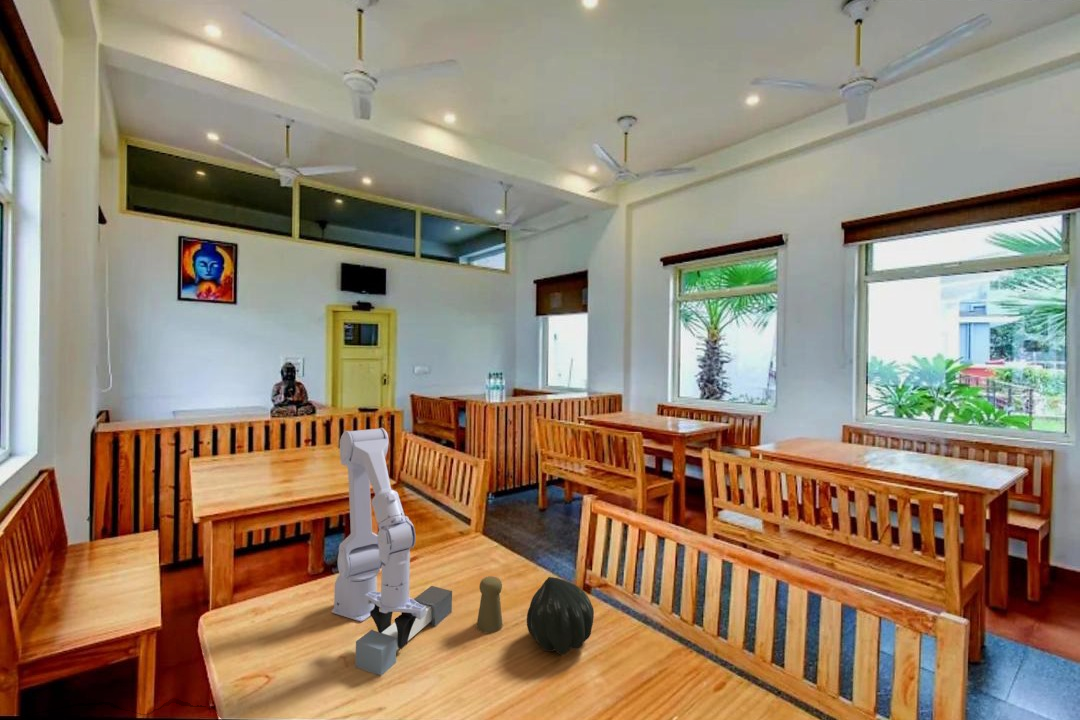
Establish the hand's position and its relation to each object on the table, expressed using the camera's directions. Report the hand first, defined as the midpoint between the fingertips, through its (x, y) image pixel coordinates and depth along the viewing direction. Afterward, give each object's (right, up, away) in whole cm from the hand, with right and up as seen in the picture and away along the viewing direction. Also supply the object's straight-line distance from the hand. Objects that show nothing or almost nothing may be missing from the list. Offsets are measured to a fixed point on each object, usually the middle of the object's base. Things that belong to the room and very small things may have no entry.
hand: (394, 642), depth 105 cm
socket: (-2, -2, -5) cm, 6 cm away
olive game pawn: (+19, -2, +10) cm, 22 cm away
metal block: (+5, -1, +13) cm, 14 cm away
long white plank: (+1, -1, +3) cm, 3 cm away
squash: (+35, -3, +4) cm, 36 cm away
